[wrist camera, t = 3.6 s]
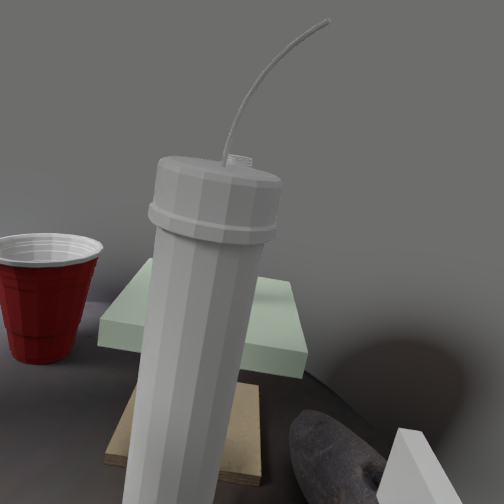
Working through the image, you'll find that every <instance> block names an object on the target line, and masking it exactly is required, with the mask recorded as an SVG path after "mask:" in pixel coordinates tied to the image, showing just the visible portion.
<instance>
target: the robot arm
mask: <svg viewBox="0 0 504 504" xmlns="http://www.w3.org/2000/svg"><path fill="white" fill-rule="evenodd" d="M376 496H377V499H378V502H379V504H462V502H461V500H460V498H459V497H458V495H457V493H456V491H455V490H454V488H453V486H452V484H451V483H450V481H449V479H448V477H447V476H446V474H445V472H444V470H443V468H442V467H441V465H440V463H439V461H438V460H437V458H436V456H435V455H434V453H433V451H432V449H431V447H430V446H429V444H428V442H427V440H426V439H425V437H424V435H423V433H422V432H421V431H415V430H409V429H402V428H399V429H398V431H397V434H396V438H395V440H394V444H393V446H392V449H391V452H390V455H389V458H388V461H387V464H386V467H385V470H384V473H383V476H382V479H381V482H380V485H379V488H378V491H377V495H376Z"/></svg>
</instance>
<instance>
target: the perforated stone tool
mask: <svg viewBox="0 0 504 504" xmlns="http://www.w3.org/2000/svg"><path fill="white" fill-rule="evenodd" d="M289 450H290V457H291V462H292V466H293V470H294V473H295V476H296V479H297V481H298V484H299V486H300V488H301V490H302V492H303V494H304V496H305V498H306V500H307V502H308V503H309V504H379V502H378V499H377V496H376V495H377V491H378V488H379V485H380V482H381V479H382V476H383V473H384V470H385V467H386V464H387V460H385V459H384V458H383V457H382V456H381V455H380V454H379V453H378V452H377V451H376V450H375V449H374V448H372V447H371V446H370V445H369V444H367V443H366V442H365V441H364V440H363V439H361V438H360V437H358V436H357V435H356V434H355V433H354V432H352V431H351V430H350V429H349V428H347V427H346V426H344V425H343V424H341V423H340V422H339V421H337V420H335V419H334V418H332V417H330V416H328V415H327V414H324V413H322V412H319V411H315V410H303V411H302V412H301V413H300V414H299V416H298V417H297V418H295V419H294V421H293V422H292V424H291V426H290V431H289Z"/></svg>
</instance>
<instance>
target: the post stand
mask: <svg viewBox="0 0 504 504" xmlns="http://www.w3.org/2000/svg"><path fill="white" fill-rule="evenodd" d="M252 160H253V159H251V158H247V157H242V156H237V155H232V154H228V157H227V161H226V163H229V164H235V165H239V166H244V167H248V168H251V165H252ZM136 390H137V384H136V386H135V389H134V391H133V393H132V395H131V397H130V400H129V402H128V404H127V406H126V408H125V410H124V413H123V415H122V417H121V419H120V421H119V424H118V426H117V428H116V430H115V432H114V435H113V437H112V439H111V441H110V443H109V445H108V448H107V450H106V452H105V458H104V464H109V465H115V466H122V467H127V462H128V454H129V446H130V438H131V430H132V422H133V414H134V406H135V398H136ZM260 480H261V450H260V418H259V386H258V385H252V384H245V383H239V382H237V384H236V389H235V394H234V399H233V404H232V409H231V414H230V419H229V424H228V429H227V434H226V439H225V444H224V449H223V454H222V460H221V465H220V470H219V475H218V480H217V481H224V482H231V483H238V484H245V485H251V486H258V487H259V484H260Z"/></svg>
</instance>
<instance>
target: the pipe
mask: <svg viewBox="0 0 504 504" xmlns="http://www.w3.org/2000/svg"><path fill="white" fill-rule="evenodd" d="M330 23H331V22H330V19H329V18H327V19H325V20H324V21H322V22H320V23H318V24H316V25H315V26H313V27H312V28H310V29H309V30H307V31H306V32H304V33H303V34H302V35H300V36H299V37H298V38H297V39H295V40H294V41H293V42H291V43H290V44H289V45H288V46H287V47H286V48H285V49H283V50H282V51H281V52H280V53H279V54H278V55H277V56H276V57H275V58H274V59H273V61H271V63H270V64H269V65H268V66H267V67H266V68H265V69H264V71H263V72H262V73H261V75H260V76H259V77H258V79H257V80H256V81H255V83H254V85H253V86H252V88H251V89H250V91H249V93H248V94H247V96H246V97H245V99H244V101H243V103H242V105H241V107H240V109H239V111H238V113H237V115H236V117H235V120H234V122H233V125H232V127H231V130H230V133H229V135H228V138H227V142H226V145H225V148H224V152H223V157H222V161H221V162H218V161H213V160H206V159H199V158H192V157H183V156H169V157H165V158H162V159H161V160H160V161H159V163H158V166H157V175H156V183H155V191H154V199H153V202H152V203H150V204H149V212H148V217H149V219H150V220H151V221H152V223H153V224H155V225H157V230H156V238H155V246H154V254H153V262H152V270H151V278H150V286H149V294H148V302H147V310H146V318H145V326H144V334H143V342H142V350H141V358H140V366H139V374H138V382H137V390H136V398H135V406H134V414H133V422H132V430H131V438H130V446H129V454H128V462H127V470H126V478H125V486H124V494H123V502H122V504H213V500H214V495H215V490H216V485H217V480H218V475H219V470H220V465H221V460H222V454H223V449H224V444H225V439H226V434H227V429H228V424H229V419H230V414H231V409H232V404H233V399H234V394H235V389H236V384H237V379H238V374H239V369H240V364H241V359H242V354H243V349H244V344H245V339H246V334H247V329H248V324H249V319H250V314H251V309H252V304H253V299H254V294H255V289H256V284H257V278H258V273H259V268H260V263H261V258H262V253H263V248H264V243H268V242H270V241H272V240H274V239H275V237H276V232H277V228H278V227H277V224H276V216H277V211H278V206H279V201H280V196H281V191H282V183H281V180H280V179H279V178H278V177H277V176H275V175H273V174H270V173H267V172H264V171H260V170H257V169H253V168H248V167H244V166H239V165H235V164H229V163H226V161H227V157H228V152H229V148H230V145H231V142H232V139H233V136H234V133H235V131H236V128H237V126H238V123H239V121H240V118H241V116H242V114H243V112H244V110H245V108H246V106H247V104H248V102H249V101H250V99H251V97H252V96H253V94H254V93H255V91H256V89H257V88H258V86H259V85H260V83H261V82H262V81H263V80H264V78H265V77H266V76H267V74H268V73H269V72H270V71H271V70H272V68H273V67H274V66H275V65H276V64H277V63H278V62H279V61H280V60H281V59H282V58H283V57H284V56H285V55H286V54H287V53H288V52H289V51H291V50H292V49H293V48H294V47H295V46H297V45H298V44H299V43H301V42H302V41H303V40H305V39H306V38H307V37H309V36H310V35H312V34H313V33H315V32H316V31H318V30H320V29H321V28H323V27H325V26H327V25H329V24H330Z"/></svg>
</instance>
